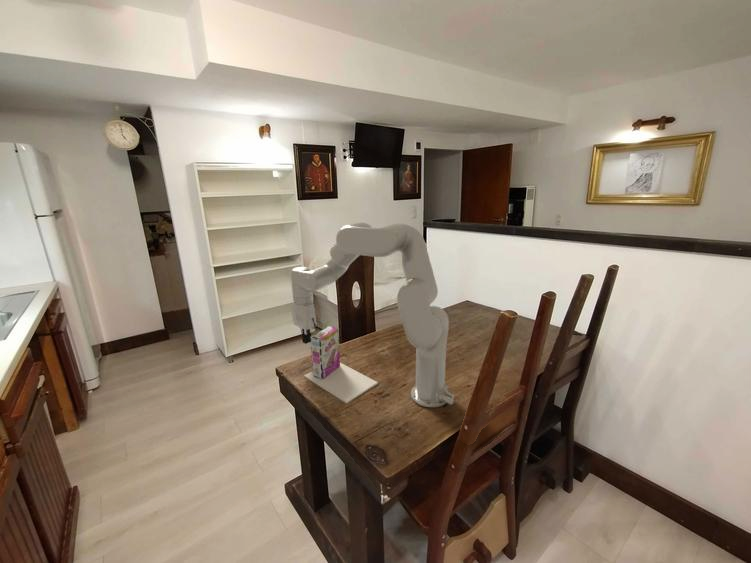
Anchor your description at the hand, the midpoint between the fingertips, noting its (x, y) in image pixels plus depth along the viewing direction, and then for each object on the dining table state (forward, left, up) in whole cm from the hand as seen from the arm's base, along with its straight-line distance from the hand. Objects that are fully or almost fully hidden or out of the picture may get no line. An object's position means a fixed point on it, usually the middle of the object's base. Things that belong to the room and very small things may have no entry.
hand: (307, 342), depth 130 cm
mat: (-20, 0, -9) cm, 22 cm away
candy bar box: (-12, 0, -9) cm, 15 cm away
